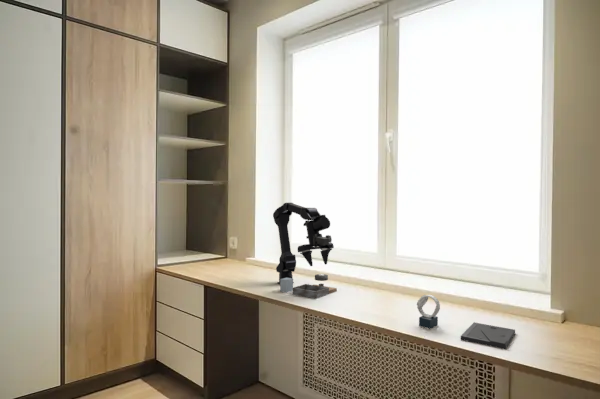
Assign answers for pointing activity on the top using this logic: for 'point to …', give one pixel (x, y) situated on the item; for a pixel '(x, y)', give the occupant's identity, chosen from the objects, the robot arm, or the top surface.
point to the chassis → (313, 290)
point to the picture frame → (488, 335)
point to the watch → (426, 319)
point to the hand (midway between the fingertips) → (318, 265)
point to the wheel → (321, 277)
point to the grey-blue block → (286, 285)
